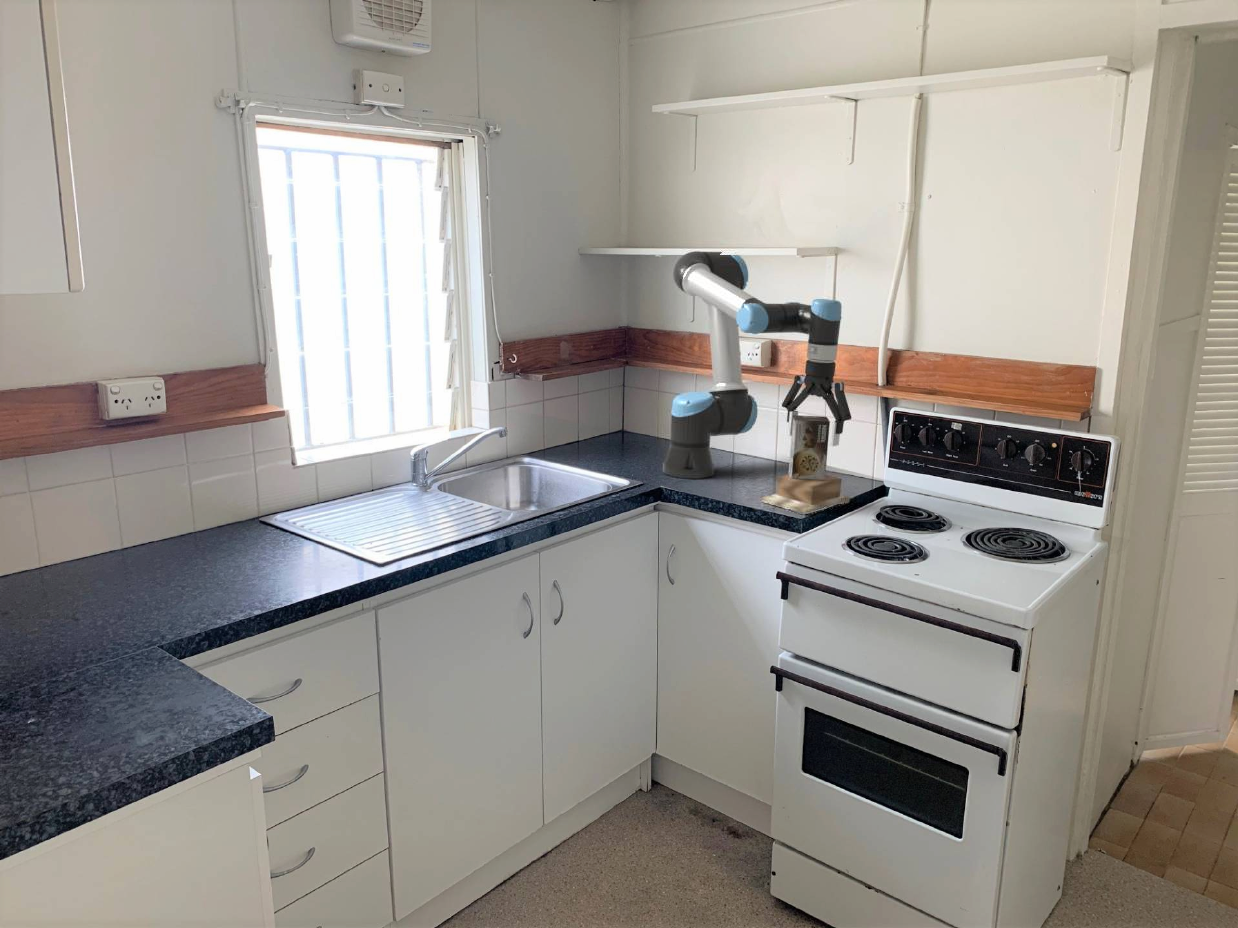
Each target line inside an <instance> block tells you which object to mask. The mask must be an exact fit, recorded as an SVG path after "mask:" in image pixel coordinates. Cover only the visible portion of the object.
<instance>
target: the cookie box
mask: <svg viewBox="0 0 1238 928" xmlns="http://www.w3.org/2000/svg"><path fill="white" fill-rule="evenodd" d="M830 424H831V420H829V417H828V416H823V415H821V416H819V415H818V416H817V415H799V414H798V415H793V425H792V436H791V441H790V451H789V453H790V454H789V465H788V475H790V477H791V479H810V480H825V475H827V474H826V472H827V460H828V451H829V450H828V448H829V439H830V437H829V435H830Z"/></svg>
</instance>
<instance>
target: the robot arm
mask: <svg viewBox="0 0 1238 928" xmlns="http://www.w3.org/2000/svg"><path fill="white" fill-rule="evenodd" d="M722 252H723V251H698V250H697V251H689V252H687V253H685V254H683V255H682V256H681V257H680V258H678V260H676V262H675V265H674V266H673V267H674V268H673V273H672V275H673V280H674V283H675V284H676V286H677V287H678V289H679V290H681V292H684V293H685V294H686V295H688V296H691V297H698V298H700V299H701V300H702V301H703V302H704V303H705V304H706V306H707V311H708V312H707V313H708V326H709V327H708V328H709V341H710V343H709V344H710V353H711V354H710V355H711V371H712V382H713V383H712V387H711V388H710V389H708V392H706V391H691V392H690V391H689V392H684V393H680V394H678V395H676V396H675V398H673V400H672V405H671V406H672V407H671V410H670V411H671V412H670V413H671V420H670V423H671V424H670V437H669V438H670V442H669V448H668V449H667V452H666V456H665V458H664V461H663V463H662V472H663V473H664V474H666V475H668V476H671V477H675V478H680V479H681V478H682V479H693V480H694V479H705V478H710V477H713V476H714V474H715V464H714V463H713V459H712V457H713V456H712V454H711V453H712V452H711V448H710V446H711V437H717V436H719V437H720V436H735V435H739V434H744V433H748V432H749V431H750V430H751V429H752V428H753V427H754V425H755V424H756V422H757V418H758V404H757V401H755V398H754V396H752V395H750V394H749V389H748V388H749V387H747V386H746V385H745V384H744V383H743V376H742V361H741V349H740V348H741V347H740V344H741V343H740V333H739V331H741V332H742V333H744V334H753V335H758V334H776V333H777V334H784V333H800V334H805V335H808V339H807V340H808V341H807V351H806V358H807V360H806V361H805V370H804V374H805V376H804V375H803V374H796V375H795V376H794V379H793V383H792V386H791V387H790V389H789V390H788V392H787V394H786V396H785V398H784V399H783V401H782V403H781V407H782V408H785V409H786V410H787V417H786V423H788V427H787V436H788V437H792V425H793V415H799V411H798V408H799V407H800V405H801V404H802V403H804V401H806V399H807V398H808V397H809V396H815V397H818V398H822V399H823V400H824V401H825V403H826V404H827V407H828V408H829V410H830V412H831V414H832V416H833V417H834V419H835V420H834V421H832V426H831V435H830V442H829V443H830V444H829V446H830V447H837V446H840V445H839V443H840V436H841V434H842V435H843V431H844V423H845V421H850V420H852V414H851V411H850V407H849V405H848V401H847V398H846V394H845V384H844V382H843V381H840V382H834V377H835V374H836V373H835V372H836V366H837V365H836V362H835V361H836V360H837V357H838V346H839V345H838V344H839V343H838V342H839V337H840V330H841V329H840V328H841V321H842V308H843V306H842V303H841V301H839V300H837V299H830V298H829V299H827V298H816V299H815V298H814V299H813V300H812V303H811V304H805V303H801V302H797V301H796V302H792V301H791V302H790V301H788V302H785V303H765V302H764V301H762V300H760V299H758V298H757V297H755V296H753V295H751V293H750V294H749V293H748V292H746V291H744V290H745V289H746V287H747V285H748V284H747V283H748V282H749V268H748V265H747V264H746V262H745V259H744V258H743V257H741V255H739V254H738V255H720V254H721V253H722ZM803 384H804V385H805V387H804V388H803V389H802V390H801V387H802V386H803ZM800 390H801V392H800V393H799V391H800ZM833 391H834V392H833ZM798 393H799V394H798ZM835 398H836V399H835Z"/></svg>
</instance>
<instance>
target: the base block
mask: <svg viewBox="0 0 1238 928" xmlns="http://www.w3.org/2000/svg"><path fill="white" fill-rule="evenodd" d="M777 480H778V481H777V490H776V493H777V495H778V496H782V497H785V498H789V499H792V500H796V501H799V502H803V503H806V504H810V505H812V504H816V503H819V502H823V501H827V500H830V499H834V498H837V497H840V495H841V489H842V481H843V480H842V478H839V477H836V476H832V475H828V474H825V480H810V479H791V477H790V475H789V474H786V475H782V476H778V479H777Z"/></svg>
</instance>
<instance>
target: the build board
mask: <svg viewBox="0 0 1238 928" xmlns="http://www.w3.org/2000/svg"><path fill="white" fill-rule="evenodd" d="M850 498H851V497H850V496H846V495H843V494H840V497H837V498H834V499H830V500H827V501H823V502H819V503H816V504H812V505H810V504H806V503H803V502H799V501H796V500H792V499H789V498H785V497H782V496H778V495H777V492H776V493H773V494H769V495H765V496H761V502H764V503H769V504H771V505H776V506H778V507H783V508H785V509H791V510H794V511H799V512H804V513H806V512H811V511H815V510H818V509H822V508H824V507H829V506H831V505H835V504H842V505H845V504H849V503H850ZM764 503H763V504H764ZM844 503H845V504H844ZM771 505H770V506H771ZM778 507H777V508H778Z"/></svg>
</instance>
